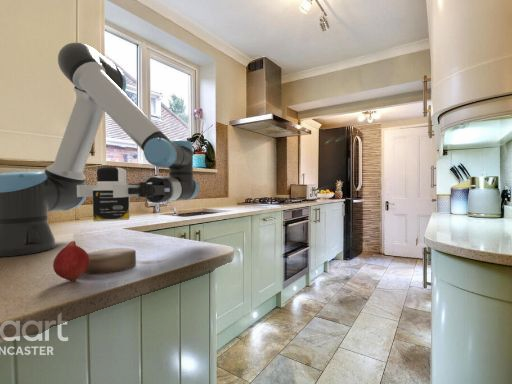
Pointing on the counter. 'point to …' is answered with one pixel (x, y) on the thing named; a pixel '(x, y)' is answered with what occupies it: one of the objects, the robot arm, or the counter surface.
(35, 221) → the robot arm
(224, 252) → the counter surface
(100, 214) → the medicine bottle
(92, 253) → the walnut stand
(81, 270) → the onion
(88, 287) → the counter surface
